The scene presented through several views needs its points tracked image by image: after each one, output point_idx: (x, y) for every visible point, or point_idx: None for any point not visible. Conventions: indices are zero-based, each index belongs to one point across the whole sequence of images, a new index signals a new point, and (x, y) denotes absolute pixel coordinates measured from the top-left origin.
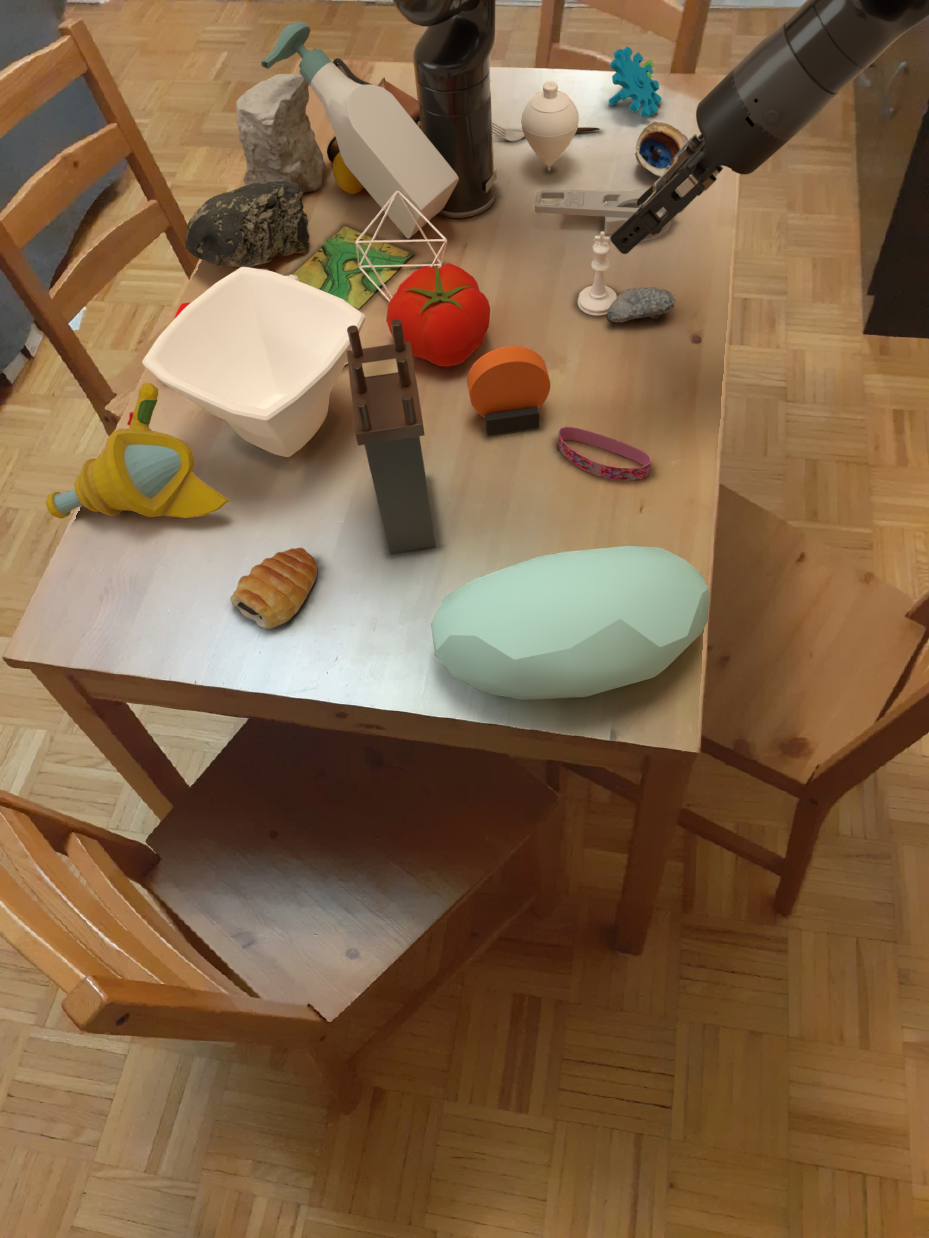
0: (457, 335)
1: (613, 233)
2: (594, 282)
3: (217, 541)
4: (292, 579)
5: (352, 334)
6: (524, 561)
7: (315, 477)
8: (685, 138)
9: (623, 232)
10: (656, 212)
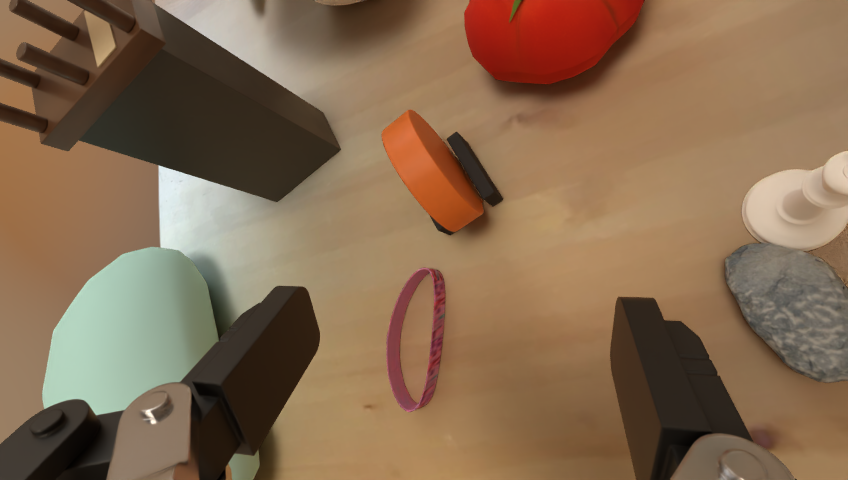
0: (480, 49)
1: (286, 289)
2: (800, 191)
3: (245, 20)
4: None
5: None
6: (133, 319)
7: (319, 43)
8: None
9: (223, 335)
10: (616, 389)
